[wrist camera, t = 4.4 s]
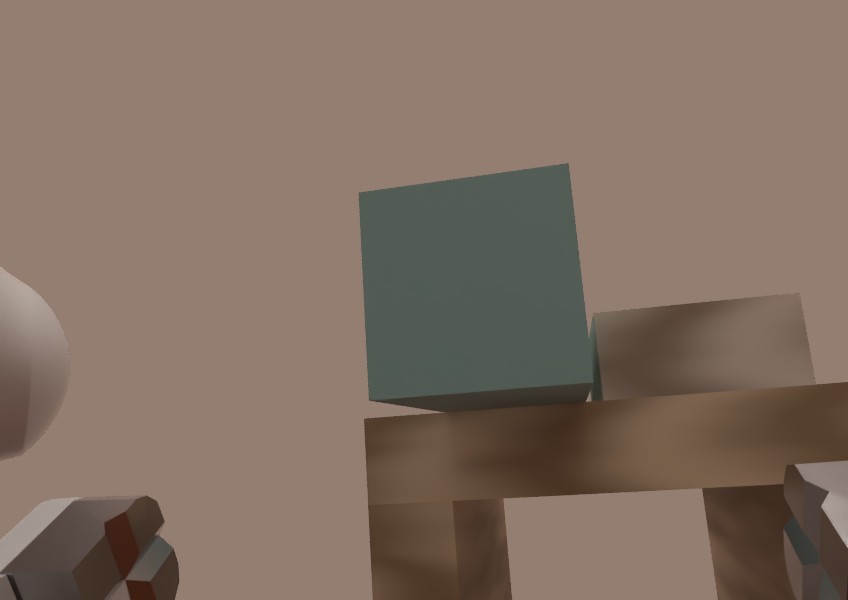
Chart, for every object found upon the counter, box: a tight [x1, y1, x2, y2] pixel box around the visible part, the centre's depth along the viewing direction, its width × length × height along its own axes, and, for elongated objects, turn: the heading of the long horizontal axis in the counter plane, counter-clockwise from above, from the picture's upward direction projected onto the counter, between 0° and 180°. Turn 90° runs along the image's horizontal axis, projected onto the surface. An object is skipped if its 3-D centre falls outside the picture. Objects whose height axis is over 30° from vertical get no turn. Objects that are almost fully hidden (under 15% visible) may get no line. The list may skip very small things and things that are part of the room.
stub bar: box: [359, 163, 594, 413], centre depth 22 cm, size 4×20×4 cm, turn 168°
